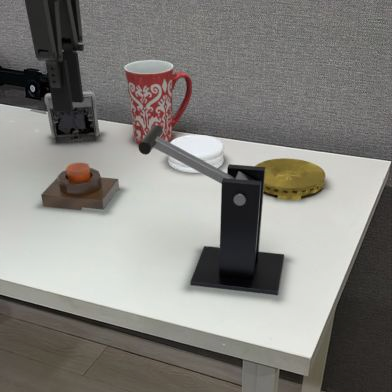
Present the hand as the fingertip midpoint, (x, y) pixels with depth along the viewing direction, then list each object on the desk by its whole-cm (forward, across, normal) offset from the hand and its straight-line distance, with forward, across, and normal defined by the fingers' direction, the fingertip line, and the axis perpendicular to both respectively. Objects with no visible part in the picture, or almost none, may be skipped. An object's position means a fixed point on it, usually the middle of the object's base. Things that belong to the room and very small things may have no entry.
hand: (68, 105), depth 81 cm
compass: (+15, +12, -32) cm, 37 cm away
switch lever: (+1, -17, -22) cm, 28 cm away
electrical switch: (+15, +24, +10) cm, 30 cm away
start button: (+11, 0, 0) cm, 11 cm away
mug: (+15, +28, -6) cm, 32 cm away
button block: (+15, 0, 0) cm, 15 cm away
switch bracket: (+15, -17, -28) cm, 36 cm away
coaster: (+15, +18, -15) cm, 28 cm away
